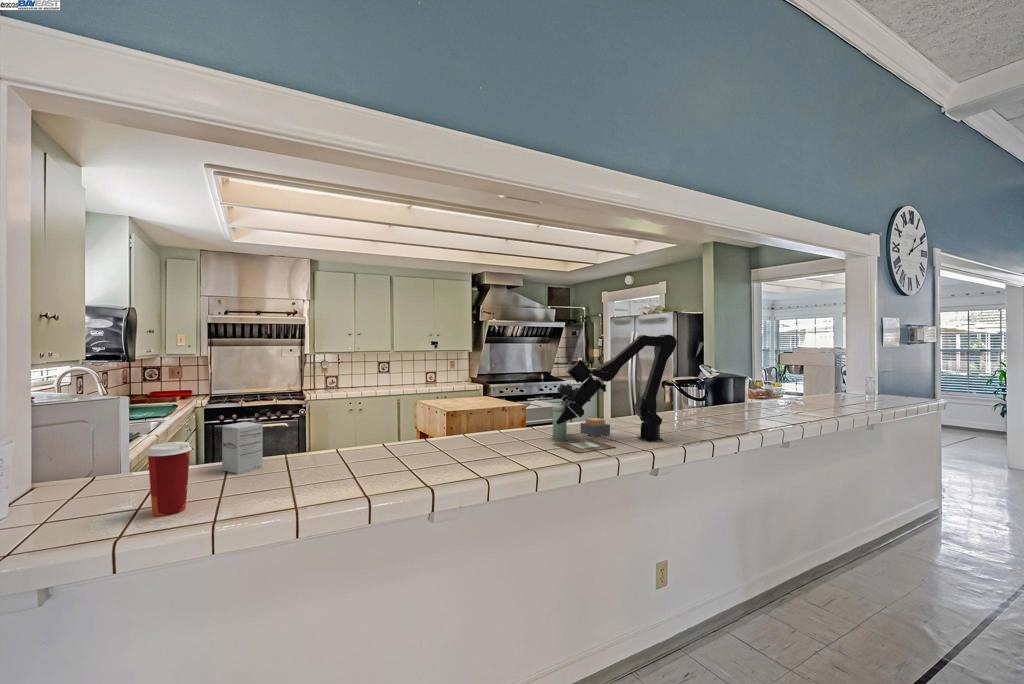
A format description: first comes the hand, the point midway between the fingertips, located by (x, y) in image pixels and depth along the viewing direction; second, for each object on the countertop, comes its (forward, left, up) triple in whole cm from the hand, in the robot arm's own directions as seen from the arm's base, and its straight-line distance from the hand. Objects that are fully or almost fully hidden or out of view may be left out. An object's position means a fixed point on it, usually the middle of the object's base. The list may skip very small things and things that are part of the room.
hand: (555, 421), depth 164 cm
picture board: (-3, +13, -7) cm, 15 cm away
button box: (-19, -1, -7) cm, 20 cm away
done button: (-19, -1, -3) cm, 20 cm away
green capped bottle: (-1, +1, -7) cm, 7 cm away
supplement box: (+99, -9, -7) cm, 99 cm away
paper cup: (+111, +19, -7) cm, 113 cm away
